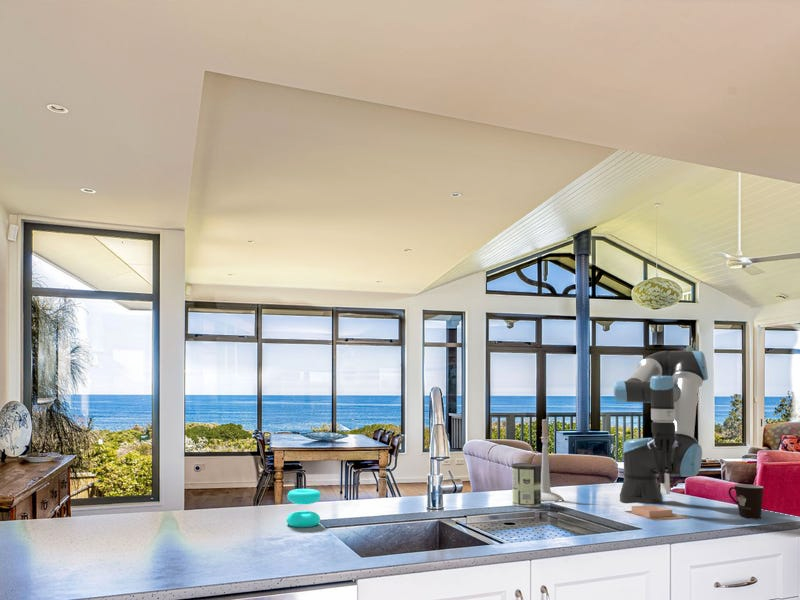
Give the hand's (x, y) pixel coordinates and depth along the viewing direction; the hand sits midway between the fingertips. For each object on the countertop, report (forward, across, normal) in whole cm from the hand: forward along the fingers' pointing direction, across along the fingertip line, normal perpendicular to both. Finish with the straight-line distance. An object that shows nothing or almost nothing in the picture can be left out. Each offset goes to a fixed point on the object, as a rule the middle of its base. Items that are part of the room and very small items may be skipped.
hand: (665, 493), depth 229 cm
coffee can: (+8, -36, +30) cm, 47 cm away
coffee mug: (+8, +28, -7) cm, 29 cm away
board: (+7, -5, -1) cm, 9 cm away
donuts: (+7, -119, +15) cm, 120 cm away
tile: (+6, -1, 0) cm, 6 cm away
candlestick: (+8, -23, +39) cm, 46 cm away
